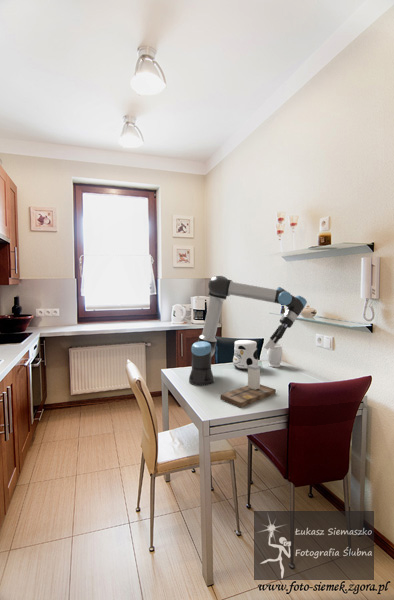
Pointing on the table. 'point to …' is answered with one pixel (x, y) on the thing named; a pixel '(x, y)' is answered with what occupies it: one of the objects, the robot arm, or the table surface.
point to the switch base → (247, 395)
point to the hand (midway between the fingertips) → (268, 348)
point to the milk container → (245, 353)
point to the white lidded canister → (254, 376)
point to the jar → (275, 355)
